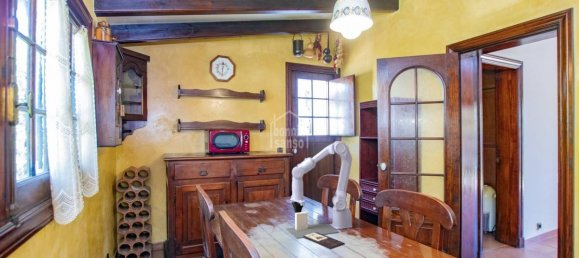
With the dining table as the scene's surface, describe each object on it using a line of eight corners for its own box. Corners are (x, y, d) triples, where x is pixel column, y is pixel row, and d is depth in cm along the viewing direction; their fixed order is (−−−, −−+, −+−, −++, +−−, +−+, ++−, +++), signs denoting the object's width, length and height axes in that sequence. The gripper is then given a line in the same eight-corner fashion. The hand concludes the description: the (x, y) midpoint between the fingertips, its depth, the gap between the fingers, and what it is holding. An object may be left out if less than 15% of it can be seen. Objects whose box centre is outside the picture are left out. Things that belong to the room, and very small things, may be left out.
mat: (325, 224, 160) (325, 223, 160) (338, 232, 147) (338, 231, 147) (286, 229, 152) (286, 228, 152) (296, 238, 139) (296, 237, 139)
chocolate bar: (330, 248, 127) (302, 236, 141) (330, 250, 127) (302, 238, 141) (344, 242, 132) (316, 232, 147) (344, 245, 132) (316, 233, 147)
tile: (306, 227, 154) (305, 211, 154) (307, 228, 152) (307, 212, 152) (295, 228, 152) (294, 212, 152) (296, 230, 150) (296, 214, 150)
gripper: (285, 188, 162) (286, 213, 162) (295, 193, 148) (295, 221, 148) (298, 187, 164) (298, 212, 164) (308, 192, 151) (309, 219, 151)
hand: (297, 216), depth 156 cm, fingers closed
